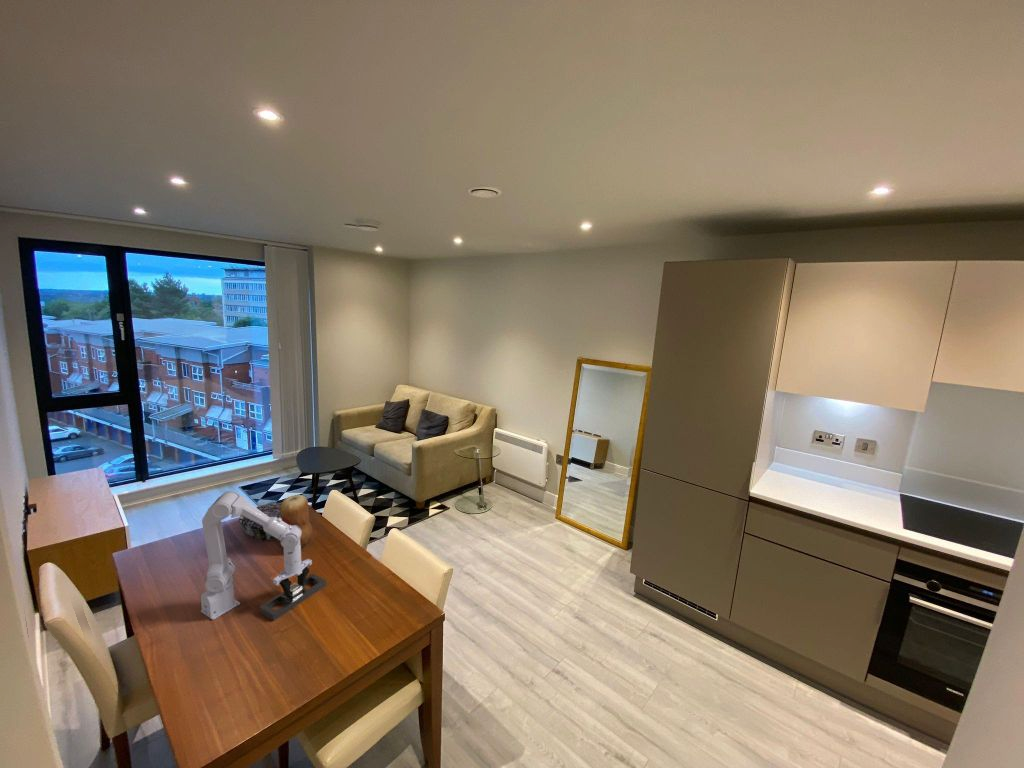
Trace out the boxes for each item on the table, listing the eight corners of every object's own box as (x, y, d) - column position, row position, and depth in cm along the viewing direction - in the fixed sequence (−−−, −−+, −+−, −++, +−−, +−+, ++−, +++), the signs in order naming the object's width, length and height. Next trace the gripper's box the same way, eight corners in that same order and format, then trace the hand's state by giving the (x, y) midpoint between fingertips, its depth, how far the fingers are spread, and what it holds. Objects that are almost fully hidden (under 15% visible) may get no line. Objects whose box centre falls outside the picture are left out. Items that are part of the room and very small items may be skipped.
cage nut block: (293, 603, 156) (292, 591, 155) (286, 599, 157) (285, 588, 156) (302, 597, 159) (302, 585, 158) (295, 593, 161) (295, 582, 160)
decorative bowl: (274, 552, 188) (275, 533, 186) (224, 538, 194) (224, 519, 192) (312, 524, 213) (313, 507, 211) (267, 512, 218) (267, 495, 216)
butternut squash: (273, 551, 186) (270, 500, 181) (296, 536, 198) (294, 488, 194) (297, 558, 182) (295, 506, 177) (320, 542, 195) (318, 493, 190)
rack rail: (273, 621, 147) (273, 614, 146) (259, 612, 150) (259, 606, 150) (326, 585, 166) (325, 580, 166) (312, 578, 170) (312, 573, 169)
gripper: (281, 572, 147) (283, 606, 149) (316, 552, 160) (317, 583, 162) (268, 566, 150) (270, 599, 153) (304, 546, 163) (305, 577, 165)
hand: (294, 590), depth 158 cm, fingers open, 5 cm apart
